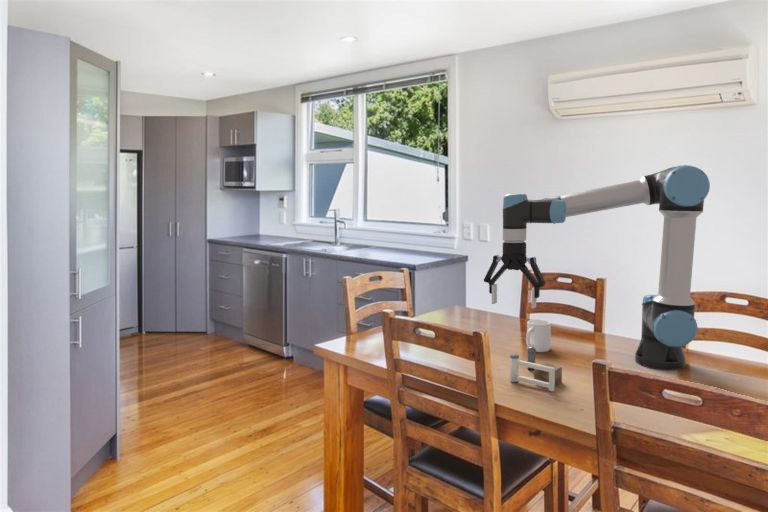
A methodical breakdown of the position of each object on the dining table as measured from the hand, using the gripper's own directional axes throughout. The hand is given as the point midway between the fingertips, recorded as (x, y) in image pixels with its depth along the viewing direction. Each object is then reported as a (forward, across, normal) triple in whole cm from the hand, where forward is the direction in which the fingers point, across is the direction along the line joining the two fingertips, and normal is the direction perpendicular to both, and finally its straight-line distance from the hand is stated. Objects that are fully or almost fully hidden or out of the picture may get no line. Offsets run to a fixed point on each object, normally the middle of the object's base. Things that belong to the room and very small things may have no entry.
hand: (513, 305), depth 179 cm
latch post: (+21, -6, 0) cm, 22 cm away
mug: (+21, -1, -22) cm, 30 cm away
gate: (+21, -11, +15) cm, 28 cm away
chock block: (+21, -15, +9) cm, 27 cm away
